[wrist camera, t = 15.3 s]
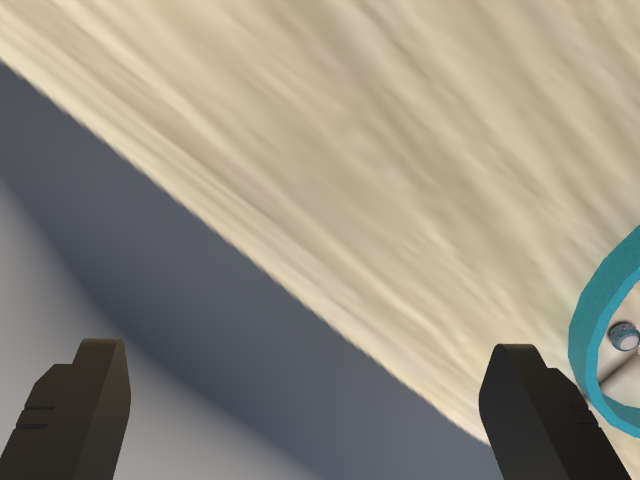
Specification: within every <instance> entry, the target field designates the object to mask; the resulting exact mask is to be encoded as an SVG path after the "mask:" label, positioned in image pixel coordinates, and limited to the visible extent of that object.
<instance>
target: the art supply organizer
mask: <svg viewBox="0 0 640 480" xmlns="http://www.w3.org/2000/svg"><path fill="white" fill-rule="evenodd" d="M639 280H640V225H639V226H637V227H636V228H635V229H634V230H633V231H632V232H631V233H630V234H629V235H628V236H627V237H626V238H625V239H624V240H623V241H622V242H621V243H620V244H619V245H618V246H617V247H616V248H615V249H614V250H613V251H612V252H611V253H610V254H609V255H608V256H607V257H606V258H605V259H604V260H603V262H602V263H601V265H600V266H599V268H598V269H597V271H596V272H595V274H594V275H593V277H592V278H591V280H590V281H589V283H588V284H587V286H586V287H585V289H584V290H583V292H582V293H581V296H580V298H579V301H578V304H577V307H576V309H575V312H574V315H573V318H572V320H571V323H570V326H569V345H568V358H569V361H570V364H571V367H572V370H573V372H574V375H575V378H576V381H577V383H578V384H579V386H580V387H581V389H582V390H583V392H584V393H585V394H586V396H587V397H588V399H589V400H590V402H591V403H592V405H593V406H594V407H595V408H596V409H597V411H598V412H599V413H600V414H601V415H602V416H603V417H604V418H605V419H606V421H607V422H608V423H609V424H610V425H612V426H614V427H616V428H618V429H620V430H622V431H623V432H625V433H627V434H629V435H631V436H633V437H636V438H640V409H639V408H634V407H629V406H624V405H622V404H620V403H618V402H616V401H614V400H613V399H611V398H609V397H607V396H605V395H603V394H602V393H601V391H600V388H599V384H598V381H597V378H596V373H597V360H598V348H599V346H600V343H601V341H602V338H603V336H604V334H605V331H606V329H607V326H608V324H609V321H610V319H611V317H612V315H613V314H614V312H615V311H616V310H617V308H618V307H619V305H620V304H621V303H622V301H623V300H624V298H625V297H626V296H627V294H628V293H629V291H630V290H631V289H632V287H633V286H634V284H635V283H637V282H638V281H639ZM610 341H611V343H612V345H613V346H614V347H615V348H616V349H618V350H620V351H629V350H632V349H634V348H635V347H636V346H637V345H638V344H639V342H640V332H639V331H638V330H637V329H636V328H635V327H634V326H632V325H629V324H619V325H617V326H615V327H614V328H613V329H612V330H611V333H610ZM639 352H640V344H639V348H638V354H639Z"/></svg>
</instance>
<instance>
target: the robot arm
mask: <svg viewBox="0 0 640 480" xmlns="http://www.w3.org/2000/svg"><path fill="white" fill-rule="evenodd" d="M130 404H131V390H130V382H129V376H128V368H127V361H126V354H125V348H124V342H123V340H122V339H92V338H91V339H90V338H88V339H86V338H85V339H83V341H82V342H81V344H80V346H79V348H78V351H77V354H76V356H75V358H74V361H73V363H72V364H54V365H53V366H52V367H51V368H50V369H49V370H48V371H47V372H46V373H45V374H44V375H43V376H42V377H41V378H40V379H39V380H38V381H37V382H36V383H35V384H34V386H33V389H32V391H31V393H30V395H29V397H28V399H27V401H26V403H25V408H24V410H22V412H21V414H20V416H19V419H18V421H17V423H16V429H14V430H13V432H12V434H11V436H10V438H9V440H8V442H7V445H6V447H5V449H4V451H3V453H2V455H1V458H0V480H113V476H114V472H115V468H116V465H117V461H118V457H119V453H120V450H121V446H122V442H123V438H124V434H125V430H126V427H127V422H128V418H129V413H130ZM588 407H589V406H588V405H587V403H586V401H585V400H584V398H583V396H582V394H581V393H580V391H579V389H578V388H577V386H576V385H575V384H574V383H573V382H572V381H570V380H569V379H568V378H567V377H566V376H565V375H564V374H563V373H562V372H561V371H560V370H558V369H557V368H547V366H546V364H545V363H544V361H543V359H542V357H541V355H540V354H539V352H538V350H537V349H536V347H535V346H534V345H532V344H497V345H496V346H495V347H494V349H493V352H492V355H491V358H490V361H489V364H488V367H487V370H486V373H485V377H484V380H483V383H482V386H481V389H480V392H479V412H480V417H481V420H482V423H483V426H484V428H485V431H486V433H487V436H488V439H489V441H490V444H491V447H492V449H493V451H494V454H495V457H496V460H497V462H498V465H499V468H500V470H501V473H502V475H503V478H504V480H632V479H631V477H630V476H629V474H628V472H627V471H626V469H625V467H624V466H623V464H622V462H621V460H620V459H619V457H618V455H617V454H616V452H615V450H614V449H613V447H612V445H611V444H610V442H609V440H608V438H607V437H606V435H605V433H604V432H603V430H602V428H601V427H599V426H598V422H597V420H596V418H595V416H594V415H593V413H592V411H591V410H589V409H588Z"/></svg>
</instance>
